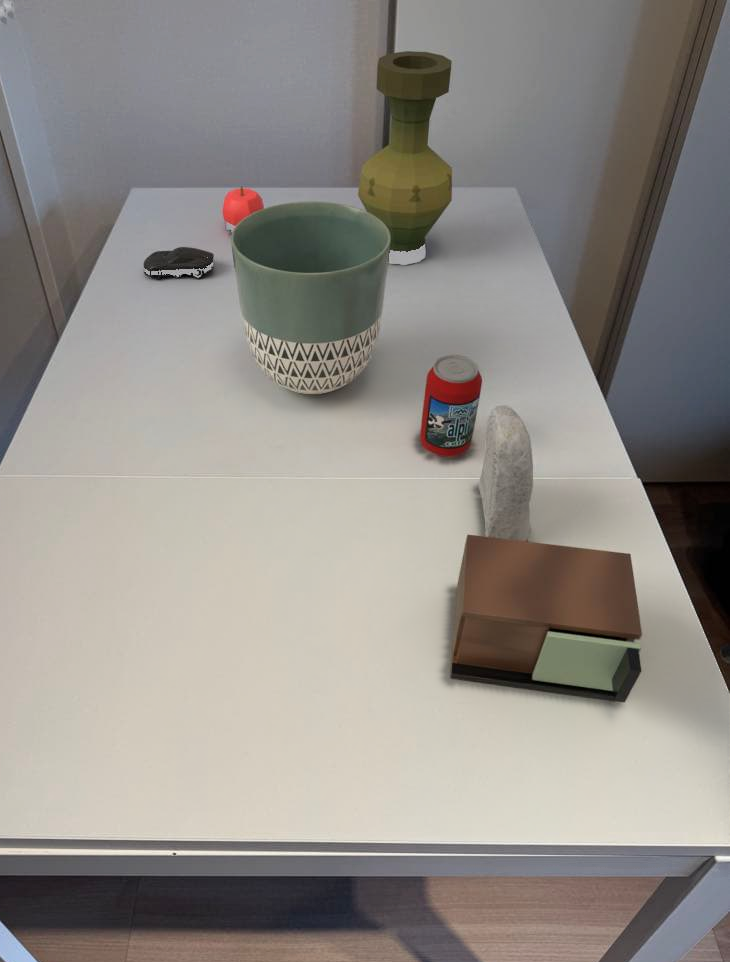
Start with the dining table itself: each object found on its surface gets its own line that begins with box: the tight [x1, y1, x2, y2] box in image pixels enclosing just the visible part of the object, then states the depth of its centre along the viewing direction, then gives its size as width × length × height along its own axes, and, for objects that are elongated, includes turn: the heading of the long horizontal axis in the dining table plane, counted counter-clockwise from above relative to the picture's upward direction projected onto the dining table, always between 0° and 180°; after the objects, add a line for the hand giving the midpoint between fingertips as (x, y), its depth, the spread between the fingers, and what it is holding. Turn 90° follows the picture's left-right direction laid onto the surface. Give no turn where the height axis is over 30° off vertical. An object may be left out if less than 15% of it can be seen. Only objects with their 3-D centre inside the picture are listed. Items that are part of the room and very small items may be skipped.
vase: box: [357, 50, 453, 252], centre depth 127 cm, size 16×16×30 cm
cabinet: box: [450, 534, 643, 702], centre depth 76 cm, size 16×11×9 cm
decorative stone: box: [478, 404, 534, 542], centre depth 86 cm, size 11×6×15 cm, turn 0°
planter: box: [230, 200, 391, 395], centre depth 103 cm, size 20×20×21 cm
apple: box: [222, 186, 265, 226], centre depth 141 cm, size 8×8×8 cm
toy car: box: [143, 246, 215, 280], centre depth 131 cm, size 6×12×4 cm, turn 93°
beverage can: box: [419, 354, 483, 458], centre depth 97 cm, size 7×7×12 cm
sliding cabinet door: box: [532, 631, 642, 703], centre depth 71 cm, size 8×3×7 cm, turn 81°
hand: (723, 656), depth 65 cm, fingers closed
